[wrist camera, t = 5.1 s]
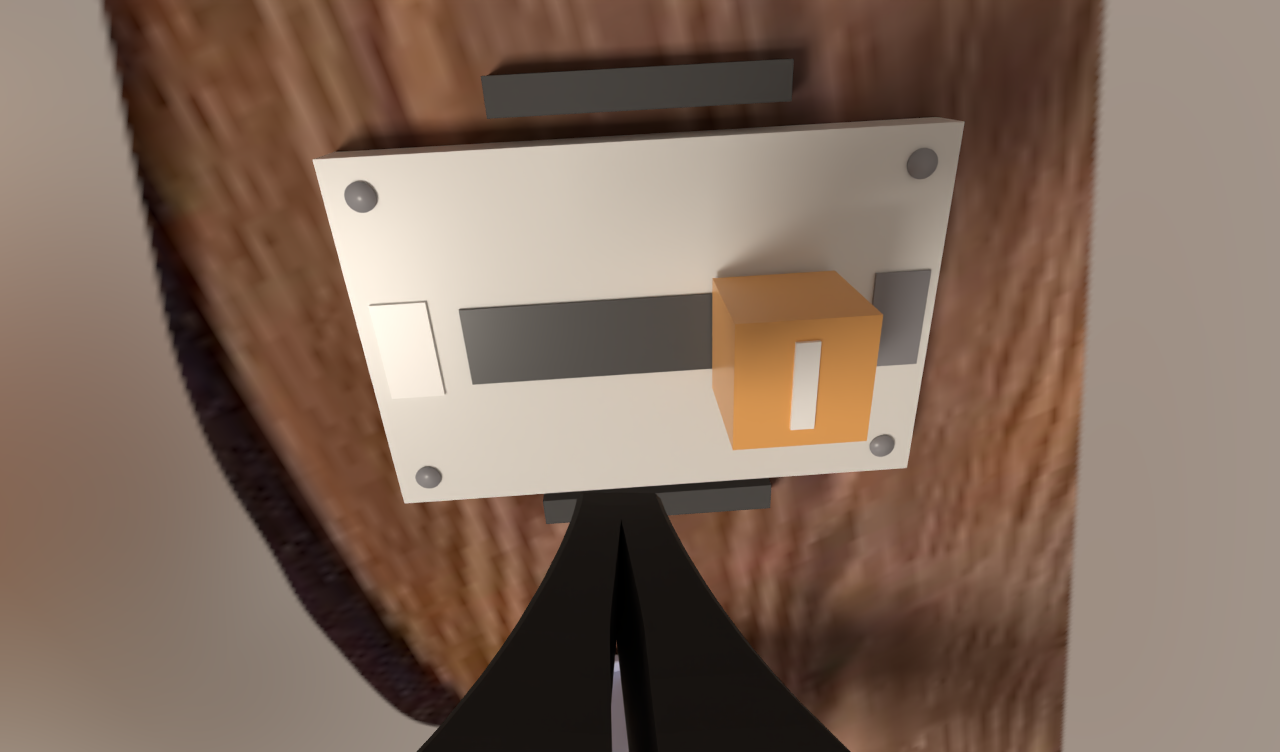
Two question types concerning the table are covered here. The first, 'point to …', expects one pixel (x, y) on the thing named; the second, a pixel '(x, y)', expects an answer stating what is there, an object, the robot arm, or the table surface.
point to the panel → (623, 293)
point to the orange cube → (793, 359)
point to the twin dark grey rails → (642, 93)
